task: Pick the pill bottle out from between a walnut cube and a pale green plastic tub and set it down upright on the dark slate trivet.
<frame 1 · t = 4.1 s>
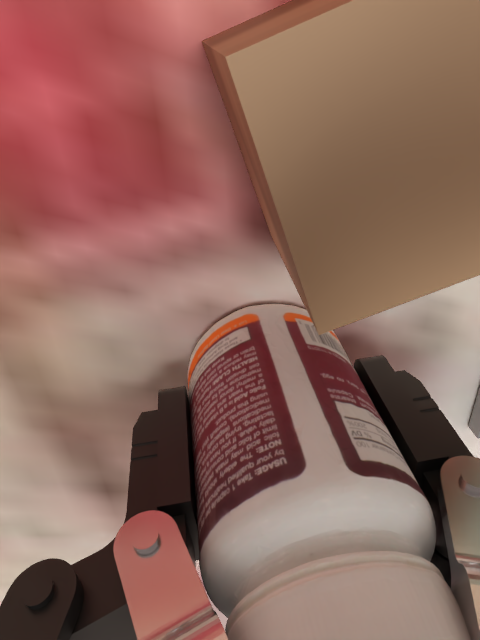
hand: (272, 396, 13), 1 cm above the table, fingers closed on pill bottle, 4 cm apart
walnut cube: (333, 109, 10), on the table
pill bottle: (263, 360, 14), on the table, touching gripper
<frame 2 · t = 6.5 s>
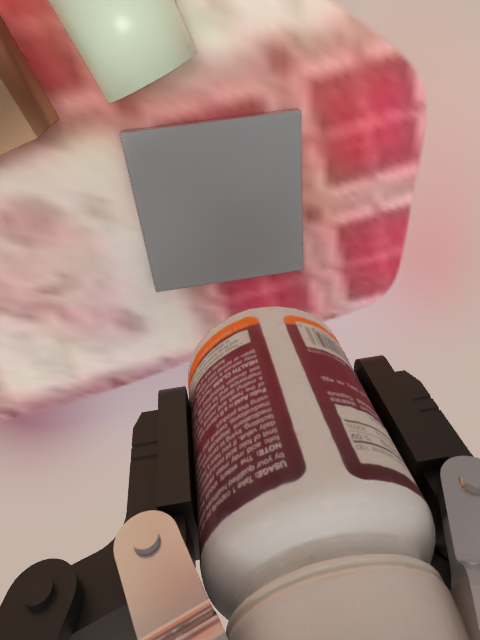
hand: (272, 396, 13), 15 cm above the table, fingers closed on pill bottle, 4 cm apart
trivet: (220, 205, 25), on the table
pill bottle: (263, 363, 14), point 14 cm above the table, touching gripper
green tub: (152, 76, 19), point 2 cm above the table, tilted 90°
when the fingers open (3 cm above the table, at t = 9.1 s): pill bottle drops 1 cm, resting on trivet.
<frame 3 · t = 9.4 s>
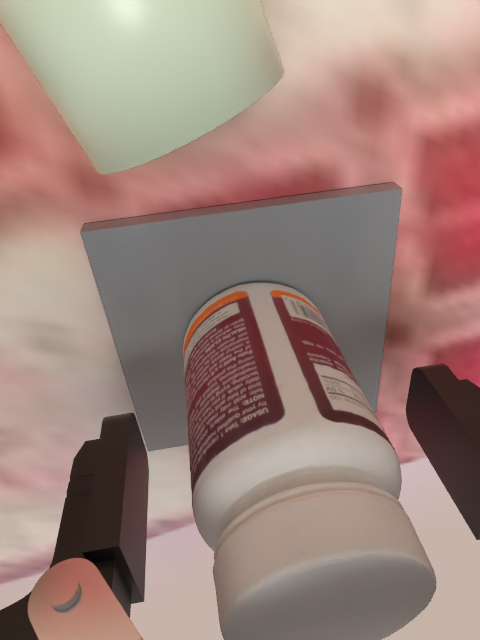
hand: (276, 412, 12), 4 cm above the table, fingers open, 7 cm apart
trivet: (253, 329, 15), on the table
pill bottle: (253, 337, 15), resting on trivet
green tub: (186, 118, 10), point 2 cm above the table, tilted 90°
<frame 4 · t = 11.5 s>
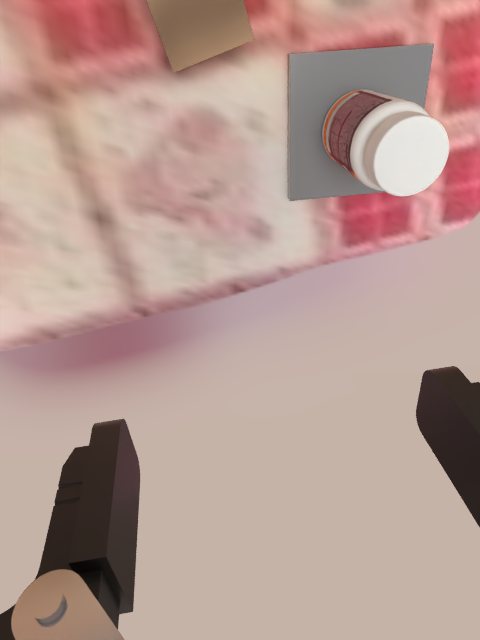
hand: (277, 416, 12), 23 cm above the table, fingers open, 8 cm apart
trivet: (353, 126, 30), on the table
walnut cube: (194, 10, 26), on the table
pill bottle: (354, 128, 30), resting on trivet
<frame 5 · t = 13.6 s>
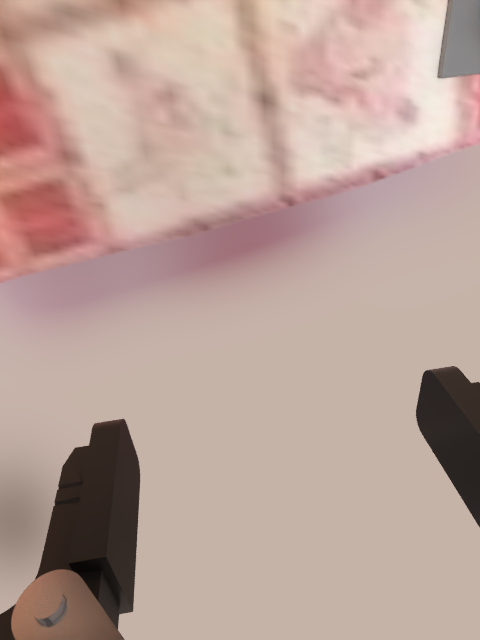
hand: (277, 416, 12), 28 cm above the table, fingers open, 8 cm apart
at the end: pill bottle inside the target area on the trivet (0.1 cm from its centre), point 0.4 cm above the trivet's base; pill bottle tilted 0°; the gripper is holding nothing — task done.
